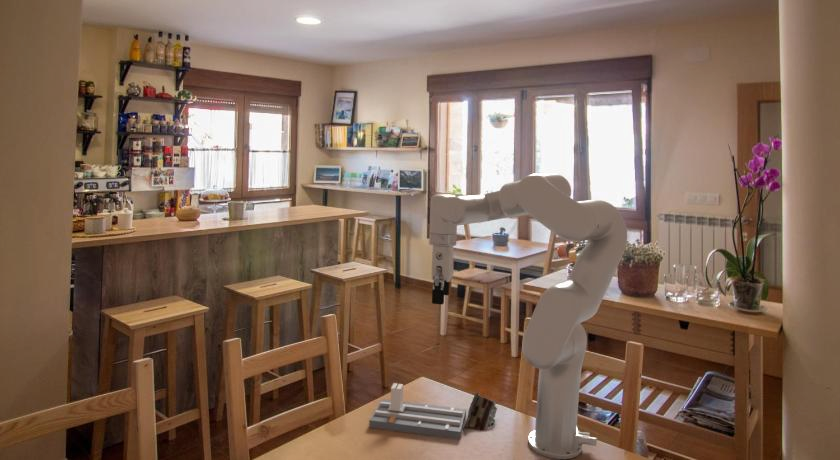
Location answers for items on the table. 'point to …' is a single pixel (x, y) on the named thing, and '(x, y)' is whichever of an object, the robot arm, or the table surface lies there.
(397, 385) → the fader knob
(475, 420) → the chocolate cake
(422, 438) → the table surface
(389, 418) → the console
